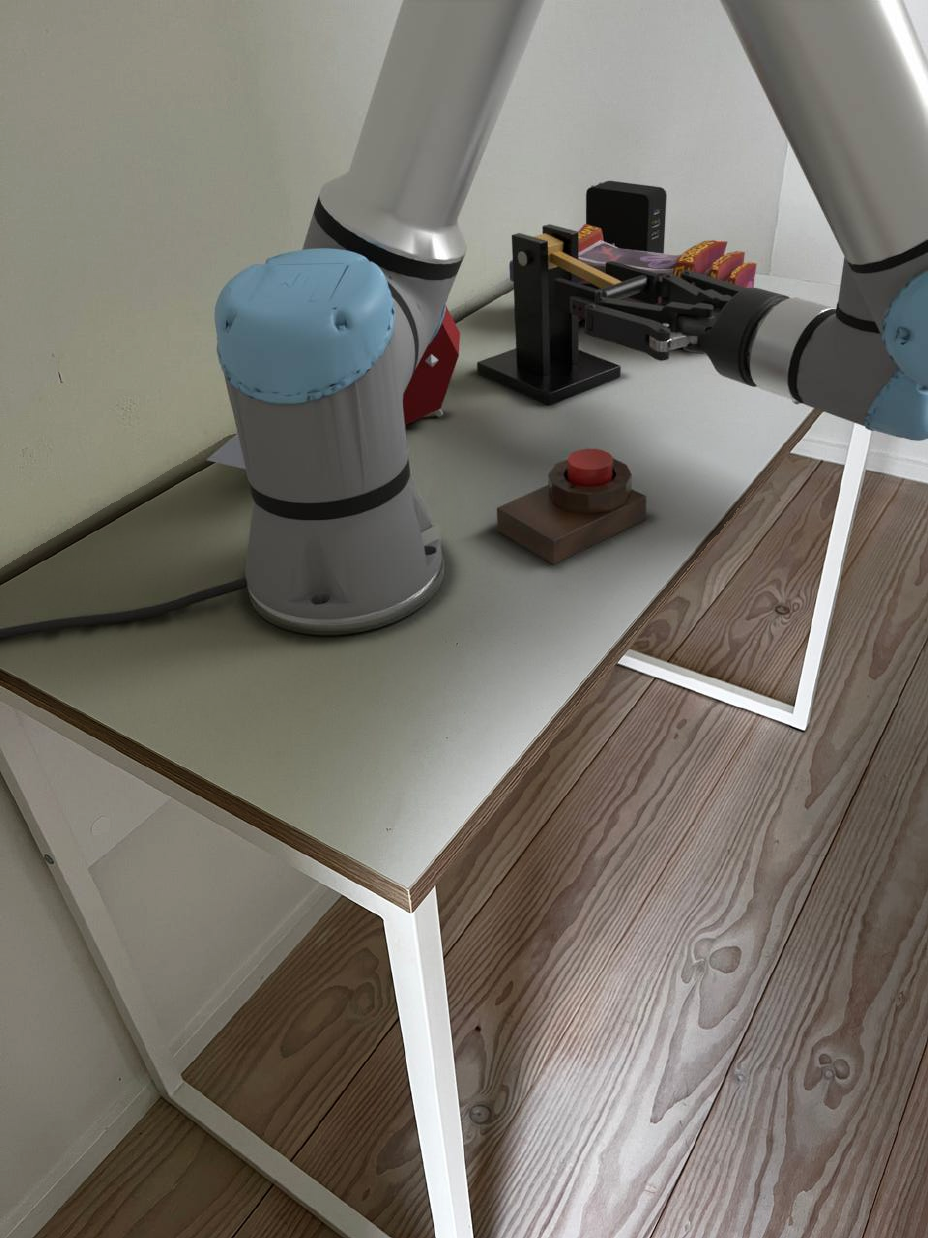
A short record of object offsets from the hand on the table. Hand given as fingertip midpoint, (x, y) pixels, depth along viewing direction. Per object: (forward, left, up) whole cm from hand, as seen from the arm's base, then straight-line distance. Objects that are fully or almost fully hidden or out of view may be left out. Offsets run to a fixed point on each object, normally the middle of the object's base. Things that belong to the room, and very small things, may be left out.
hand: (583, 284), depth 97 cm
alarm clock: (-19, +8, -11) cm, 23 cm away
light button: (-17, -19, -7) cm, 27 cm away
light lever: (0, +1, 0) cm, 1 cm away
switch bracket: (0, +6, -11) cm, 12 cm away
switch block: (-19, -19, -11) cm, 29 cm away
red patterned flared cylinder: (+16, +10, -11) cm, 22 cm away
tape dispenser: (-31, +6, -11) cm, 33 cm away
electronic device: (+32, +27, -11) cm, 43 cm away
